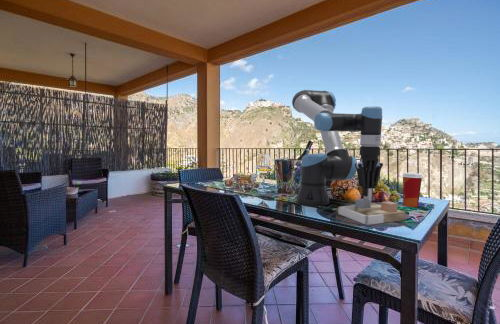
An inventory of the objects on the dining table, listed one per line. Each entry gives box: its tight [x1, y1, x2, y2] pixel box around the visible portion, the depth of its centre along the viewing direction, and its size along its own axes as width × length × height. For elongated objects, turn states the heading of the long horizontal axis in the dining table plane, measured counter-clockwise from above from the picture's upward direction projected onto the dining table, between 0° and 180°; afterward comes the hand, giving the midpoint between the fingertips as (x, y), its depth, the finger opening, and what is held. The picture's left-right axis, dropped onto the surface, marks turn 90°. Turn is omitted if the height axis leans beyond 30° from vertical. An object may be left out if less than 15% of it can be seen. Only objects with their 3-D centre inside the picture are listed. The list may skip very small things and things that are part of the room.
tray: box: [337, 204, 384, 226], centre depth 103 cm, size 15×8×3 cm, turn 21°
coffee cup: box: [401, 172, 423, 208], centre depth 124 cm, size 8×8×15 cm
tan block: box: [380, 200, 399, 212], centre depth 104 cm, size 4×4×3 cm
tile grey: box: [354, 198, 372, 209], centre depth 108 cm, size 4×4×3 cm
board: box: [355, 202, 407, 224], centre depth 107 cm, size 15×11×3 cm
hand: (367, 203), depth 110 cm, fingers closed
